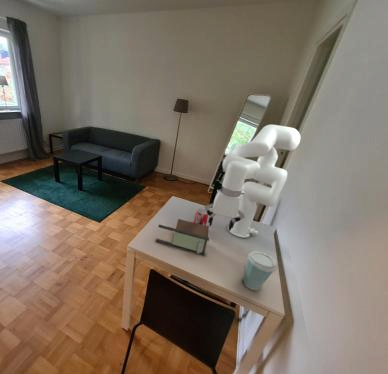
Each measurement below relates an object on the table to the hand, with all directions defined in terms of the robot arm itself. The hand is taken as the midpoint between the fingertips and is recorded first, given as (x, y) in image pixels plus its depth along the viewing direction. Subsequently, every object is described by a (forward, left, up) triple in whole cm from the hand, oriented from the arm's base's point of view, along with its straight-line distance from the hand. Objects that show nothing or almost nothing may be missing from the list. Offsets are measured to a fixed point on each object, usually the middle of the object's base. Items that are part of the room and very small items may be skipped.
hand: (219, 226), depth 95 cm
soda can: (+7, -25, -20) cm, 33 cm away
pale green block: (+12, -1, -19) cm, 22 cm away
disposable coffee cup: (-18, +7, -20) cm, 28 cm away
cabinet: (+15, -8, -20) cm, 26 cm away
